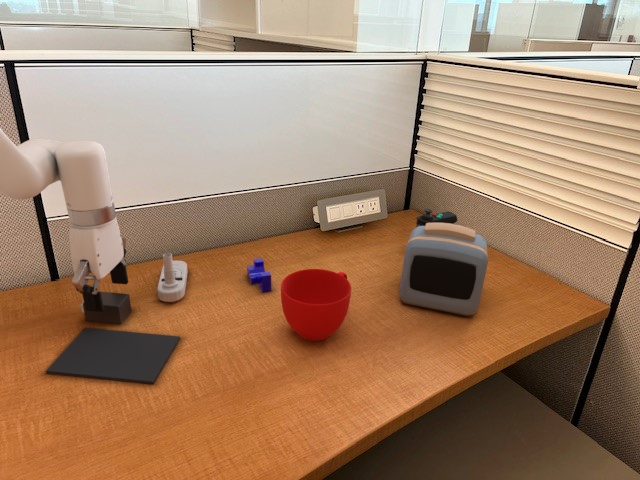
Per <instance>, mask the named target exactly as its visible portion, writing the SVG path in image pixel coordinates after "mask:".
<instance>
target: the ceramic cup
mask: <svg viewBox="0 0 640 480" xmlns="http://www.w3.org/2000/svg"><path fill="white" fill-rule="evenodd" d="M351 296H352V284H351V282H350V281H349V280H348V274H347V273H346V272H344V271H339V272H335V271H332V270H328V269H322V268H306V269H301V270H295V271H294V272H291V273H289V274H288V275H286V276H285V277H284V278H283V279H282V281H281V284H280V300H281V308H282V312H283V315H284V317H285V321H286V322H287V324H288V325H289V326H290V328H291V329H292V330H293V331H294V332H295V333H296V334H297V335H298V336H299V337H300V338H301V339H304V340H306V341H310V342H320V341H324V340H327V339H328V338H329V337H330V336H332V335H333V334H334V333H336V332H337V330H339V328H340V327H341V326H342V324H343V323H344V321H345V319H346V317H347V314H348V311H349V308H350V303H351Z"/></svg>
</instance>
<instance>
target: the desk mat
mask: <svg viewBox="0 0 640 480" xmlns="http://www.w3.org/2000/svg"><path fill="white" fill-rule="evenodd" d="M180 340H181V336H179V335H167V334H157V333H156V334H155V333H148V332H147V333H146V332H137V331H134V332H133V331H126V330H113V329H104V328H92V327H84V328H83V330H82V331H81V332H80V333H78V335H77V336H76V337H75V338H74V339H73V340H72V341H71V342H70V343H69V344H68V346H67V347H66V348H65V349H64V350H63V351H62V352H61V353H60V355H58V357H57V358H56V359H55V360H54V361H53V362H52V363H51V365H50V366H49V367H48V368H46V370H45V373H46V374H48V375H55V376H56V375H58V376H69V377H77V378H87V379H96V380H105V381H107V380H108V381H116V382H126V383H137V384H146V385H155V383H156V381H157V380H158V378H159V376H160V375H161V372H162V371H163V369H164V367H165V366H166V364H167V362H168V360H169V359H170V357H171V355H172V354H173V353H174V350H175V348H176V347H177V345H178V343H179V342H180Z"/></svg>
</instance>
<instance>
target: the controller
mask: <svg viewBox="0 0 640 480" xmlns="http://www.w3.org/2000/svg"><path fill="white" fill-rule="evenodd" d="M457 222H458V215H457V214H455V213H453V212H452V211H444V212H437V213H433V210H432V209H430V208H425V209H424V214H422V215H419V216H416V222H415V225H416V227H419V226H426V223H450V224H455V223H457Z"/></svg>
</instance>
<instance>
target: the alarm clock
mask: <svg viewBox="0 0 640 480" xmlns="http://www.w3.org/2000/svg"><path fill="white" fill-rule="evenodd" d="M488 264H489V255H488V245H487V241H486V239H485V238H484V237H483V235H480V234H477V233H476V230H475V229H472V228H470V227H467V226H463V225H461V224H455V223H454V224H450V223H426V226H419V227H417V226H416V227H415V228H412V230H411V233H410V236H409V237H408V240H407V243H406V245H405V247H404V254H403V262H402V268H401V269H402V270H401V277H400V281H399V289H398V290H399V291H398V294H399V299H400V300H401V301H402V303H404V304H406V305H410V306H414V307H420V308H425V309H430V310H436V311H440V312H444V313H445V312H446V313H450V314H455V315H459V316H460V315H461V316H466V317H467V316H468V317H469V316H470V317H471V316H474V315H475V314H476V313H477V311H478V309H479V307H480V303H481V298H482V294H483V293H482V292H483V288H484V284H485V279H486V273H487V269H488Z"/></svg>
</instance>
